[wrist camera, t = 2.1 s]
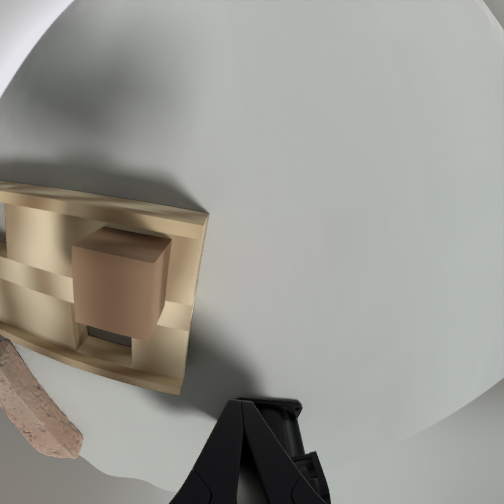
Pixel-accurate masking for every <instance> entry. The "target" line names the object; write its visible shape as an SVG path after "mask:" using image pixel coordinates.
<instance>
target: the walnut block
mask: <svg viewBox="0 0 504 504" xmlns="http://www.w3.org/2000/svg"><path fill="white" fill-rule="evenodd" d="M171 244H172V239H167V238H162V237H157V236H152V235H146V234H141V233H136V232H131V231H126V230H121V229H115V228H110V227H105V226H103V227H102V228H100V229H98V230H97V231H95V232H93V233H92V234H90V235H88V236H87V237H85V238H83V239H82V240H80V241H78V242H77V243H75V244H74V245H72V278H73V296H74V309H75V319H76V322H78V323H81V324H84V325H88V326H91V327H94V328H98V329H101V330H105V331H108V332H112V333H116V334H120V335H123V336H127V337H131V338H135V339H139V340H143V341H148V342H149V341H150V339H151V336H152V334H153V332H154V329H155V327H156V325H157V322H158V320H159V318H160V315H161V313H162V311H163V308H164V306H165V296H166V286H167V277H168V268H169V260H170V252H171Z"/></svg>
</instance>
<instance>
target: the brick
mask: <svg viewBox="0 0 504 504" xmlns="http://www.w3.org/2000/svg"><path fill="white" fill-rule="evenodd" d="M0 405H1V406H2V407H3V409H4V411H5V412H6V413H7V415H8V417H9V419H10V420H11V421H12V422H13V423H14V424H15V425H16V426H17V427H18V428H19V430H20V432H21V434H22V435H23V436H25V438H26V440H28V441H29V443H30V444H31V445H32V446H33V447H34V448H35V449H36V450H37V451H39V452H40V453H42V454H44V455H47V456H53V457H54V456H55V457H59V458H61V457H63V458H66V457H68V458H73V459H75V458H77V456H78V454H79V452H80V450H81V445H82V441H83V436H82V435H81V434H80V432H79V431H78V430H77V428H76V427H75V426H74V425H73V424H72V423H71V422H70V421H69V420H68V418H67V416H65V415H64V414H63V413H62V411H61V410H60V409H59V407H58V406H57V405H56V404H55V403H54V401H53V400H52V399H51V398H50V397H49V395H48V394H47V393H46V392H45V390H44V389H43V388H42V387H41V385H40V384H39V382H38V381H37V380H36V378H35V377H34V376H33V374H32V373H31V371H30V370H29V368H28V367H27V365H26V364H25V363H24V361H23V360H22V359H21V357H20V356H19V354H18V353H17V351H16V350H15V348H14V346H13V345H12V343H11V342H10V341H4V340H2V341H1V342H0Z"/></svg>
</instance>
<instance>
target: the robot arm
mask: <svg viewBox="0 0 504 504" xmlns="http://www.w3.org/2000/svg"><path fill="white" fill-rule="evenodd" d="M301 411H302V404H301V403H292V402H275V401H263V400H252V399H243V398H238V399H236V400H235V399H229V400H228V401H227V403H226V405H225V407H224V409H223V411H222V413H221V415H220V417H219V419H218V421H217V423H216V425H215V427H214V429H213V431H212V432H211V434H210V436H209V438H208V440H207V442H206V444H205V446H204V448H203V450H202V452H201V453H200V455H199V457H198V459H197V461H196V463H195V465H194V466H193V468H192V470H191V472H190V473H189V475H188V477H187V479H186V480H185V482H184V484H183V485H182V487H181V488H180V490H179V491H178V493H177V494H176V495H175V496H174V498H173V499H172V500H171V502H170V503H169V504H331V500H330V494H329V489H328V485H327V482H326V479H325V476H324V473H323V470H322V467H321V464H320V461H319V459H318V456H317V453H316V451H314V452H310V453H309V454H305V451H304V447H303V442H302V438H301V433H300V429H299V424H298V420H297V418H298V416H299V414H300V413H301Z"/></svg>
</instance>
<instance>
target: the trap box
mask: <svg viewBox="0 0 504 504" xmlns="http://www.w3.org/2000/svg"><path fill="white" fill-rule="evenodd" d="M0 202H2V203H5V221H6V243H3V242H0V335H1V336H3V337H5V338H7V339H9V340H11V341H13V342H15V343H17V344H20V345H22V346H24V347H26V348H28V349H31V350H33V351H35V352H38V353H40V354H42V355H45V356H47V357H50V358H52V359H55V360H57V361H60V362H62V363H65V364H68V365H70V366H73V367H76V368H79V369H82V370H85V371H88V372H91V373H94V374H97V375H100V376H103V377H107V378H110V379H113V380H117V381H120V382H124V383H128V384H131V385H135V386H139V387H143V388H147V389H152V390H156V391H160V392H165V393H170V394H175V395H180V394H181V389H182V383H183V378H184V373H185V368H186V361H187V353H188V345H189V337H190V330H191V323H192V315H193V308H194V302H195V295H196V288H197V282H198V276H199V269H200V263H201V257H202V251H203V246H204V240H205V234H206V229H207V223H208V218H209V213H204V212H198V211H193V210H187V209H182V208H176V207H171V206H165V205H160V204H154V203H148V202H142V201H136V200H130V199H124V198H118V197H112V196H106V195H100V194H93V193H87V192H80V191H73V190H67V189H60V188H53V187H45V186H38V185H31V184H23V183H15V182H7V181H0ZM103 226H105V227H110V228H115V229H121V230H126V231H131V232H136V233H141V234H146V235H152V236H157V237H162V238H167V239H172V244H171V252H170V260H169V268H168V277H167V286H166V296H165V306H164V308H163V311H162V313H161V315H160V318H159V320H158V322H157V325H156V327H155V329H154V332H153V334H152V336H151V339H150V341H149V342H148V341H143V340H139V339H135V338H132V347H128V346H124V345H120V344H116V343H113V342H109V341H106V340H102V339H99V338H95V337H92V336H89V335H88V330H87V325H84V324H81V323H78V322H76V319H75V309H74V296H73V278H72V245H74V244H75V243H77V242H78V241H80V240H82V239H83V238H85V237H87V236H88V235H90V234H92V233H93V232H95V231H97V230H98V229H100V228H102V227H103Z"/></svg>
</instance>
